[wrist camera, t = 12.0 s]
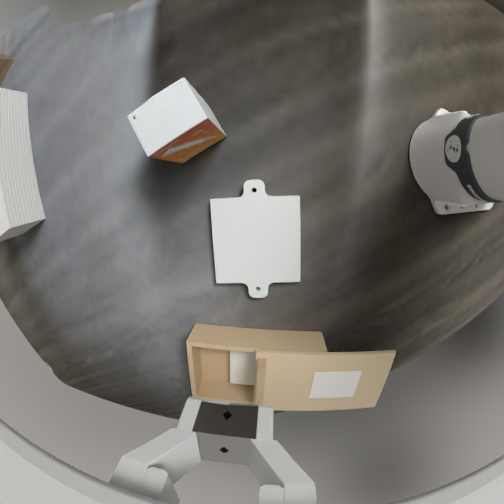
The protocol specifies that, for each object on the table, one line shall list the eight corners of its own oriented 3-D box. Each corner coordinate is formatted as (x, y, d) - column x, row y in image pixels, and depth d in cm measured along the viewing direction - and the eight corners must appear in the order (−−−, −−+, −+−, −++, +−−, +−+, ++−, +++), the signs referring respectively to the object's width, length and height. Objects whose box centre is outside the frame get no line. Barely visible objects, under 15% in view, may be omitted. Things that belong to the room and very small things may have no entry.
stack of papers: (46, 218, 44) (9, 228, 34) (22, 234, 46) (-10, 244, 35) (27, 93, 37) (-4, 86, 27) (5, 117, 39) (-25, 114, 28)
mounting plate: (211, 182, 40) (209, 182, 39) (297, 178, 39) (299, 178, 38) (219, 293, 45) (217, 297, 43) (298, 292, 44) (299, 296, 42)
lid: (394, 349, 38) (401, 361, 35) (373, 404, 41) (378, 416, 38) (256, 349, 39) (255, 362, 36) (252, 406, 43) (251, 419, 40)
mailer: (321, 331, 45) (327, 350, 39) (310, 385, 48) (313, 406, 42) (195, 323, 46) (186, 341, 40) (199, 378, 50) (192, 397, 44)
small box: (183, 164, 40) (146, 158, 27) (165, 132, 38) (124, 116, 26) (228, 137, 38) (208, 117, 26) (208, 104, 37) (183, 75, 24)
